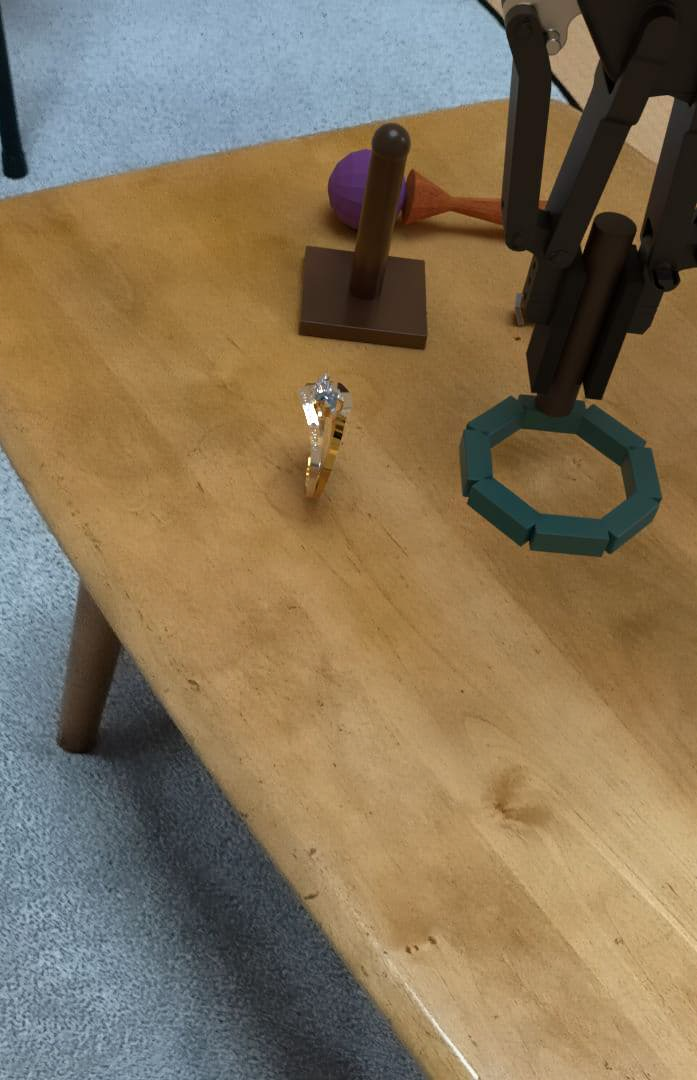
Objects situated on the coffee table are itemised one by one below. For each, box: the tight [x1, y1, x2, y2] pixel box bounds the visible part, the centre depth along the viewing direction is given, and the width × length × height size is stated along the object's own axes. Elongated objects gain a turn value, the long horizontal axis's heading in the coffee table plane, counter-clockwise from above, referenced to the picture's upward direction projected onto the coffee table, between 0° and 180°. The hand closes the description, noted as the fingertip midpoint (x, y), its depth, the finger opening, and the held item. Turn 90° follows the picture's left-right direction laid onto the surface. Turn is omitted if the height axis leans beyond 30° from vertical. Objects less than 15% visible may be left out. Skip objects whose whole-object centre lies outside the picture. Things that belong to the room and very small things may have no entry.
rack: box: [298, 122, 428, 350], centre depth 85 cm, size 9×9×14 cm
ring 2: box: [458, 211, 663, 558], centre depth 52 cm, size 9×9×11 cm
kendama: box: [327, 148, 548, 230], centre depth 96 cm, size 6×6×20 cm
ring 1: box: [298, 371, 354, 500], centre depth 75 cm, size 7×3×8 cm, turn 176°
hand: (563, 376), depth 57 cm, fingers closed on ring 2, 2 cm apart
